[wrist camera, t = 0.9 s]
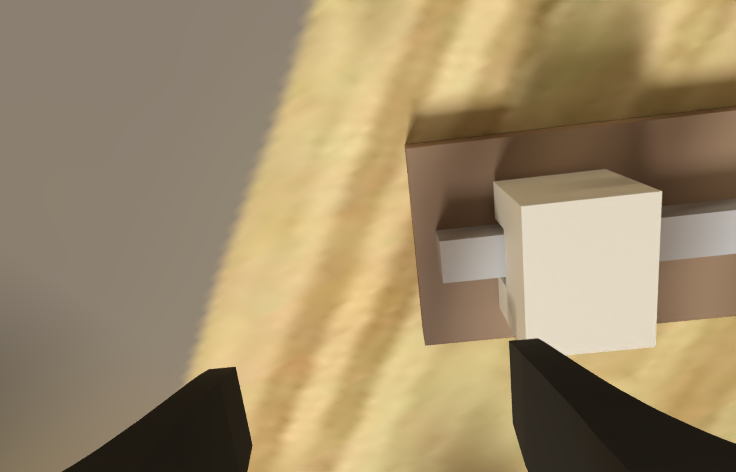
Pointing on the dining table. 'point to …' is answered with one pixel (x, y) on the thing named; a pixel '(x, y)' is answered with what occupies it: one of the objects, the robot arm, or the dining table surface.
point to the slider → (580, 260)
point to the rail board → (568, 155)
